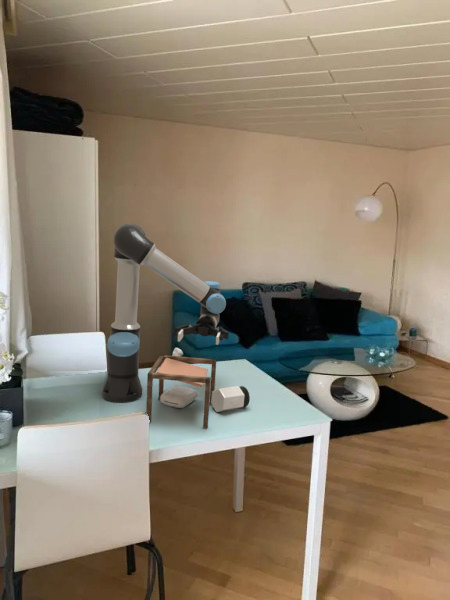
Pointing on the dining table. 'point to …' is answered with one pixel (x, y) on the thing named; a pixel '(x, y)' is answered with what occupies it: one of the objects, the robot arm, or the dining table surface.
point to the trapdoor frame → (162, 377)
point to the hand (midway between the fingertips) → (197, 339)
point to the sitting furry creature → (177, 352)
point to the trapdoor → (182, 370)
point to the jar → (230, 398)
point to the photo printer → (178, 396)
